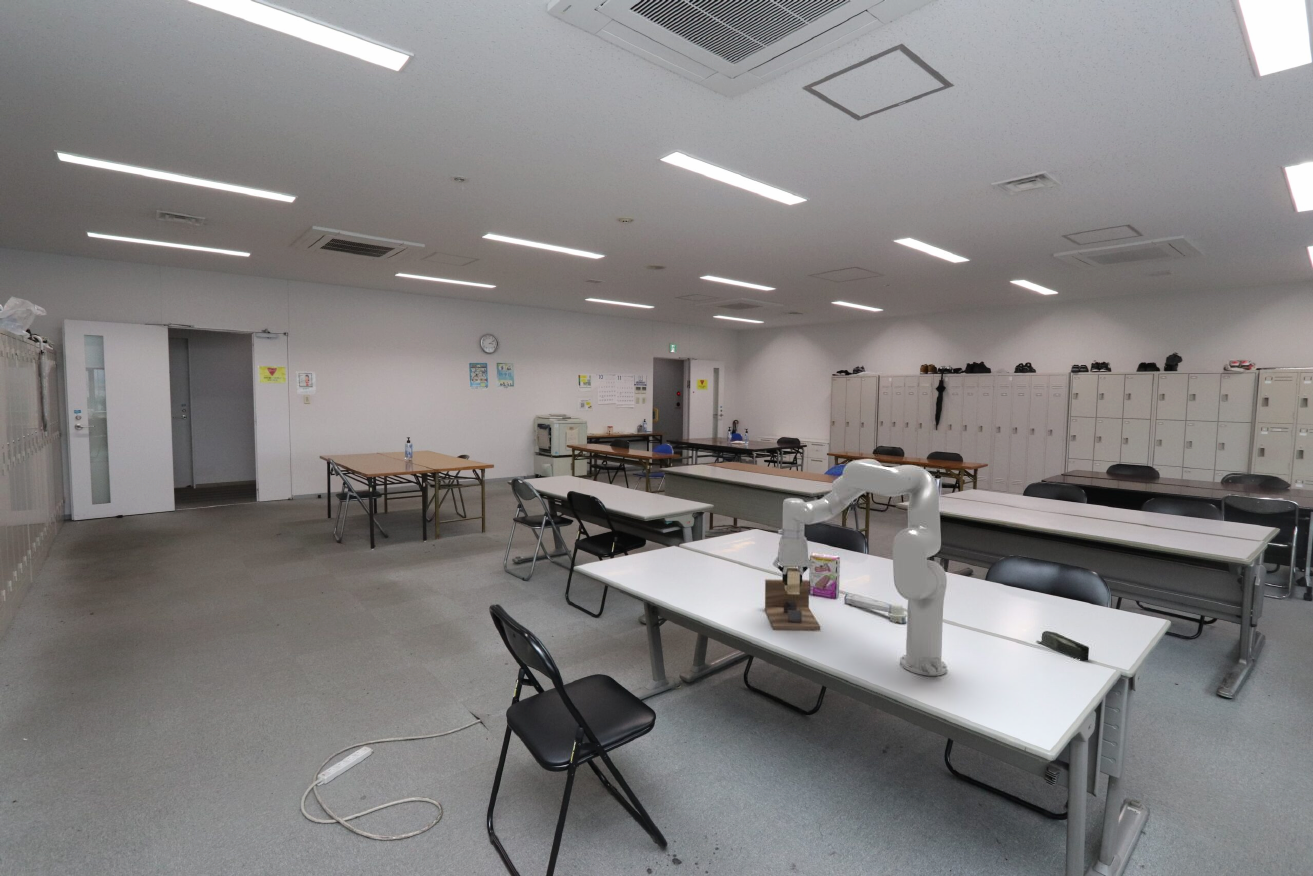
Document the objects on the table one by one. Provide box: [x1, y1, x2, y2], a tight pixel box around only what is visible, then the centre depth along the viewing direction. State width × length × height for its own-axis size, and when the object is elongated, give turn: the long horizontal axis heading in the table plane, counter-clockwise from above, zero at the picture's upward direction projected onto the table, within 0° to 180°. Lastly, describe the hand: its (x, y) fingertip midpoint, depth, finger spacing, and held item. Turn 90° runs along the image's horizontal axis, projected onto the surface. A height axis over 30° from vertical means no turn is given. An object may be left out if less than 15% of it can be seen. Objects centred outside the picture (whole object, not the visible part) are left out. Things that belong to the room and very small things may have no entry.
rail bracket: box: [785, 567, 800, 594], centre depth 206 cm, size 6×4×8 cm, turn 178°
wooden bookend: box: [764, 578, 821, 631], centre depth 209 cm, size 20×16×12 cm
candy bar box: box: [808, 552, 841, 600], centre depth 234 cm, size 11×5×16 cm, turn 59°
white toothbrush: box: [844, 593, 907, 624], centre depth 215 cm, size 5×7×25 cm
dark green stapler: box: [1036, 630, 1090, 661], centre depth 182 cm, size 5×3×15 cm
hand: (792, 583), depth 206 cm, fingers closed on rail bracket, 4 cm apart
